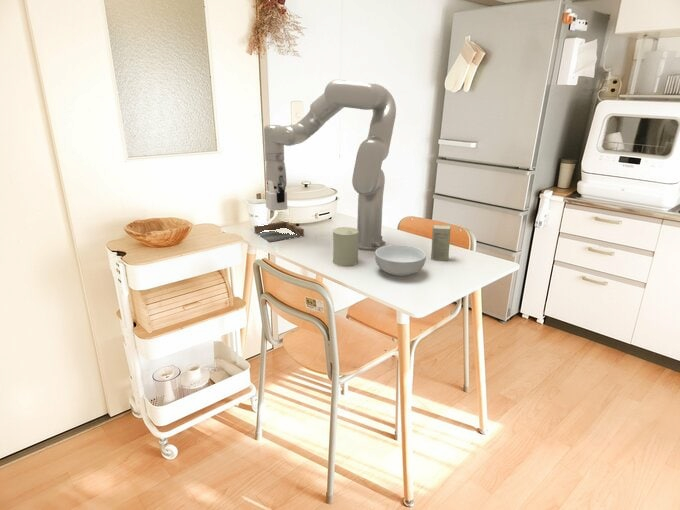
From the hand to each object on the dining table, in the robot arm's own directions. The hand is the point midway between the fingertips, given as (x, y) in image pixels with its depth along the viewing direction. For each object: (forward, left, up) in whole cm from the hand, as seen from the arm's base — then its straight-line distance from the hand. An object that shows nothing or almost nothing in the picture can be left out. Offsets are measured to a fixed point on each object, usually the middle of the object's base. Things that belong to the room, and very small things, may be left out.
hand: (276, 200), depth 182 cm
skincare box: (-57, -38, -16) cm, 70 cm away
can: (-41, -7, -16) cm, 44 cm away
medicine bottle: (0, 0, -4) cm, 4 cm away
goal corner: (+1, -1, -15) cm, 15 cm away
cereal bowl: (-59, -17, -16) cm, 63 cm away
